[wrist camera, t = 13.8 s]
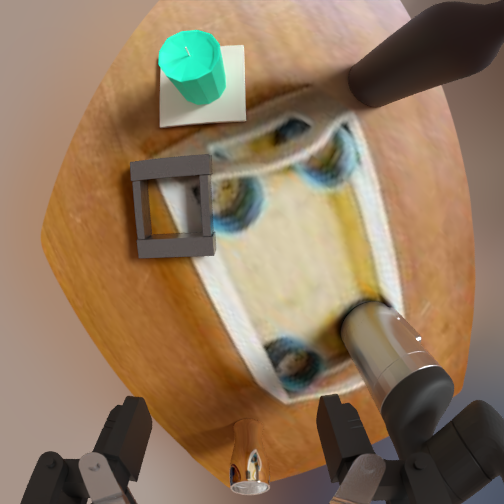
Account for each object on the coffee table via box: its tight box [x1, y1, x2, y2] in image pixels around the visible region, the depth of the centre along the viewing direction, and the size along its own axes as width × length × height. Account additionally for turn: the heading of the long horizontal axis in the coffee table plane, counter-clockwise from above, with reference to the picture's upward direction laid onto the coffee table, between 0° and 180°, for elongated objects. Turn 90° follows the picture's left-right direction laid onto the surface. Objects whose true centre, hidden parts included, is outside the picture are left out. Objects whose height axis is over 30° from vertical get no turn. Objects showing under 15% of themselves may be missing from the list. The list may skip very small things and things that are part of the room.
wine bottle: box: [348, 0, 504, 107], centre depth 18 cm, size 7×7×30 cm
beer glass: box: [230, 419, 270, 495], centre depth 41 cm, size 7×7×15 cm
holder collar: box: [130, 154, 216, 258], centre depth 35 cm, size 10×12×3 cm
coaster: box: [160, 45, 246, 128], centre depth 31 cm, size 11×11×1 cm
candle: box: [158, 30, 226, 105], centre depth 25 cm, size 6×6×12 cm
